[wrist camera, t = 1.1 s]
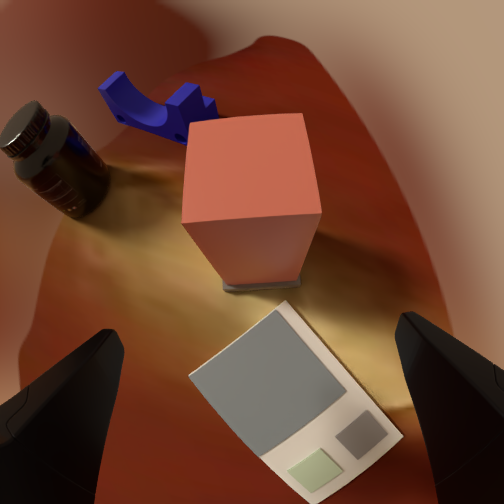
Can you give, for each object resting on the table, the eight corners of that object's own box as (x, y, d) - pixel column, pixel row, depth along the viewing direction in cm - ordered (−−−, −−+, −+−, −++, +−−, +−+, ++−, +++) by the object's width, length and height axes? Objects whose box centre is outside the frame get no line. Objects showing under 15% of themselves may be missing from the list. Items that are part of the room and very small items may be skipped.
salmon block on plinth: (299, 287, 21) (331, 220, 10) (225, 291, 21) (173, 231, 10) (292, 218, 23) (307, 108, 11) (223, 223, 23) (184, 119, 12)
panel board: (400, 434, 16) (405, 437, 16) (312, 502, 15) (313, 507, 14) (285, 301, 21) (285, 299, 20) (190, 374, 19) (187, 375, 19)
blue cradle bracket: (219, 119, 27) (209, 75, 21) (193, 149, 26) (177, 106, 20) (142, 98, 30) (125, 63, 24) (118, 122, 28) (97, 88, 23)
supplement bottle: (67, 173, 27) (7, 109, 15) (115, 156, 26) (60, 78, 15) (58, 226, 24) (-20, 169, 13) (109, 213, 24) (31, 138, 13)
